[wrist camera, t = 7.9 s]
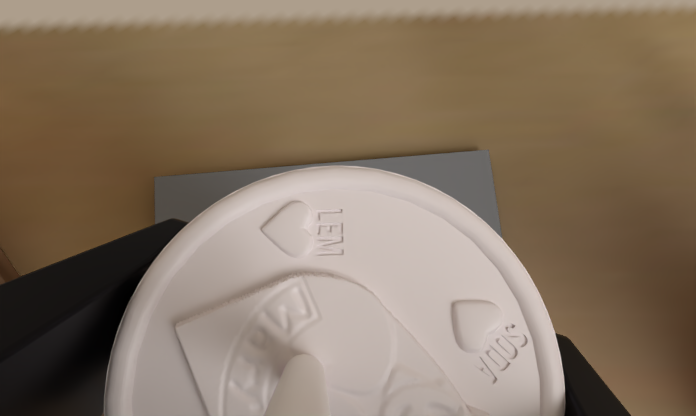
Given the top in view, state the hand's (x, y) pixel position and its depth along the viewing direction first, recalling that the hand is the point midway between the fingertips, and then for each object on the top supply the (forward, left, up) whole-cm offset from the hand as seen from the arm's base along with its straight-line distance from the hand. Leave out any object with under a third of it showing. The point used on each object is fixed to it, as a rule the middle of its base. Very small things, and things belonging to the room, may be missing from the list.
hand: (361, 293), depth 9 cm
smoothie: (-1, 0, -8) cm, 8 cm away
